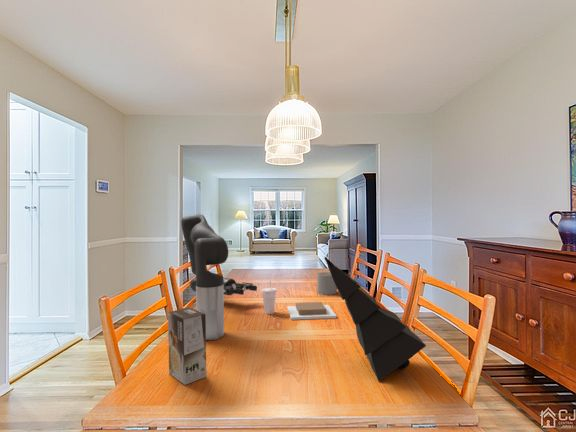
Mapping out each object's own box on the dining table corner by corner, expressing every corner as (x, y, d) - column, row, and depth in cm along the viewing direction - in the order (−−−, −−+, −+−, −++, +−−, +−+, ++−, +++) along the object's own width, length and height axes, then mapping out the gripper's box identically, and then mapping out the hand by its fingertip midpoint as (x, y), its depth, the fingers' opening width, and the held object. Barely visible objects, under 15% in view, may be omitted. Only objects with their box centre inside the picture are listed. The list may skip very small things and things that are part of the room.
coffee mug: (318, 295, 168) (318, 275, 168) (316, 290, 178) (316, 272, 178) (344, 295, 168) (344, 275, 168) (341, 290, 178) (341, 271, 178)
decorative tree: (374, 368, 95) (302, 269, 96) (416, 338, 94) (343, 238, 95) (388, 395, 80) (302, 278, 81) (438, 360, 80) (351, 243, 81)
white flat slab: (336, 318, 131) (336, 310, 131) (291, 319, 129) (290, 312, 129) (327, 306, 146) (327, 300, 146) (287, 308, 145) (287, 301, 145)
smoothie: (274, 315, 135) (274, 280, 135) (259, 314, 137) (259, 280, 137) (278, 310, 142) (278, 277, 142) (264, 310, 143) (263, 277, 143)
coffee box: (207, 376, 84) (207, 313, 84) (184, 386, 80) (183, 319, 80) (190, 365, 91) (189, 306, 91) (167, 373, 86) (166, 311, 86)
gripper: (212, 280, 149) (238, 284, 139) (234, 275, 160) (260, 279, 151) (212, 297, 149) (238, 302, 139) (235, 291, 161) (260, 295, 151)
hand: (250, 290), depth 145 cm, fingers open, 8 cm apart
